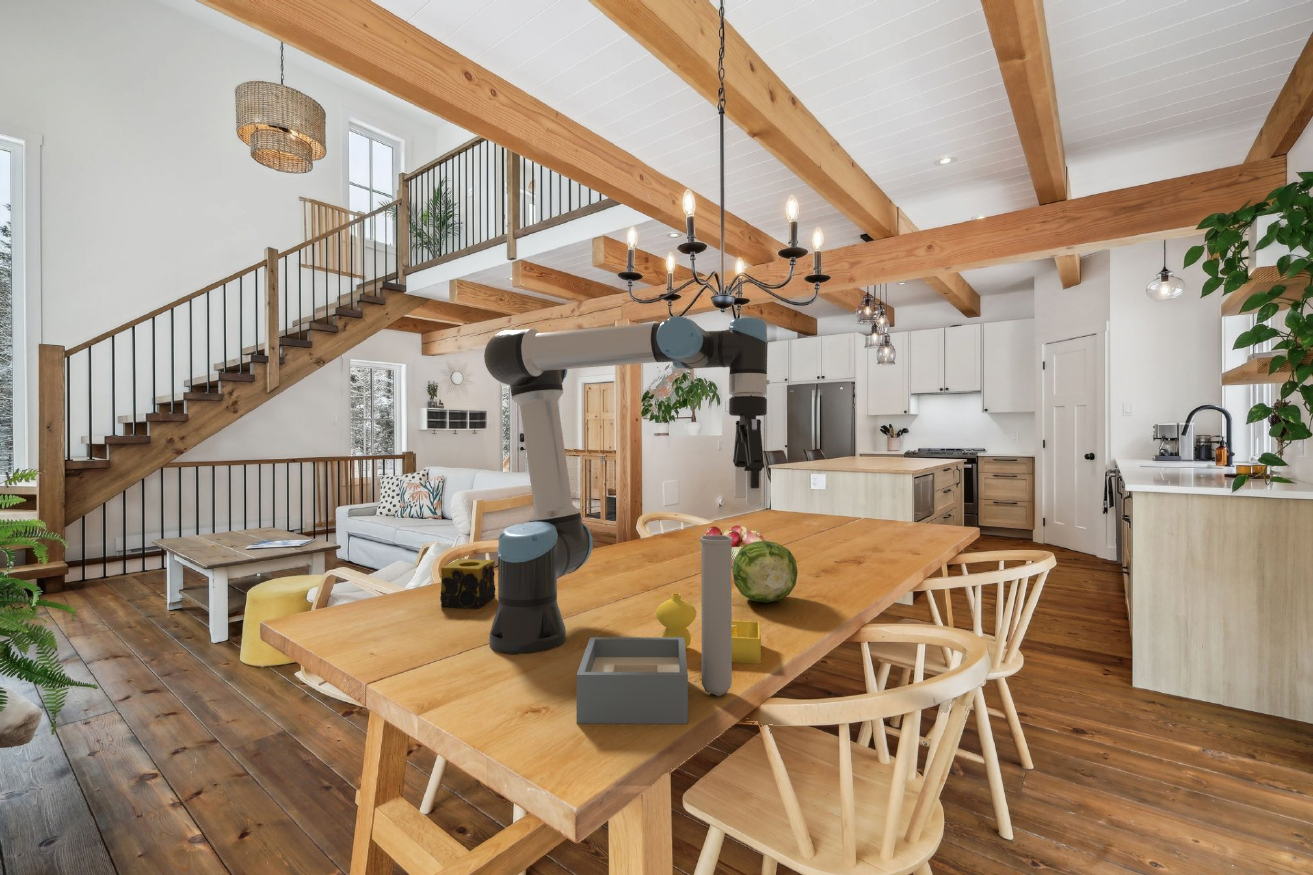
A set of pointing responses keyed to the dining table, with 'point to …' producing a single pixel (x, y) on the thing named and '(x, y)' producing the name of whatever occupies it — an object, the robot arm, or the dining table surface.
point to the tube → (716, 613)
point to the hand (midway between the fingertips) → (747, 501)
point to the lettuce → (764, 571)
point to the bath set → (682, 614)
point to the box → (633, 681)
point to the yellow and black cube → (467, 584)
